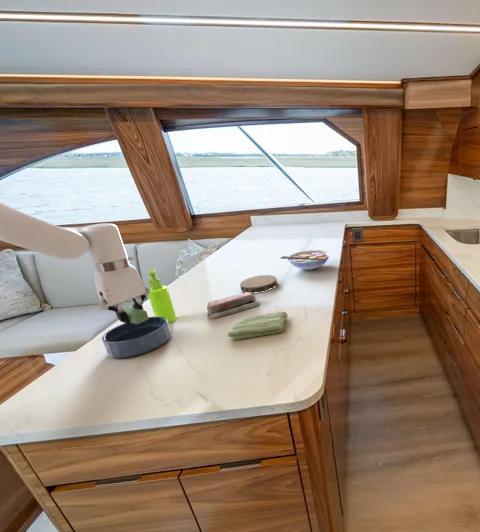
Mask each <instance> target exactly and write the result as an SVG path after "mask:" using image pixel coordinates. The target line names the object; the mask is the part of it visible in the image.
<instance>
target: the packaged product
mask: <svg viewBox="0 0 480 532" xmlns="http://www.w3.org/2000/svg"><path fill="white" fill-rule="evenodd" d="M254 294H255V293H250V292H247V293H244V292H242V293H239V294H235V295H230V296H227V297H224V298H219V299H215V300H212V301H209V302H207V306H206V310H207V312H208V315H210V317H211V319H213V320H214V319H217V318H221V317H223V316H227V315H230V314H235V313H239V312H242V311H244V310H247V309H251V308H254V307H258V306H261V301H260V300H259V299H258V298H257V297H256V296H255V295H254Z"/></svg>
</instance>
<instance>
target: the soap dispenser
mask: <svg viewBox="0 0 480 532" xmlns="http://www.w3.org/2000/svg"><path fill="white" fill-rule="evenodd" d="M147 273H148V275H149V278H150V279H149V280H148V281H147V282H148V285H149V288H148V289H149V290H150V291H151V292H150V293H149V294H148V295H147V297H148V299H149V302H150V305H151V308H152V311H153V314H154V317H164V318H166V319H167V320H168V323H171V322H174V321H176V319H177V315H176V312H175V309H174V305H173V303H172V298H171V295H170V292H169V290H168V286H166V285H163V284H162V281H161V278H159V277H157V275H156V270H155V269H154V268H153V269H149V270H147Z"/></svg>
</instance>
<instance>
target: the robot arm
mask: <svg viewBox="0 0 480 532" xmlns="http://www.w3.org/2000/svg"><path fill="white" fill-rule="evenodd" d="M0 242H4V243H7V244H10V245H14V246H16V247H20V248H22V249H26V250H29V251H33V252H36V253H38V254H43V255H46V256H50V257H53V258H57V259H61V260H75V259H79V258H81V257H83V256H85V255H86V254H87V253H88V252H89V253H90V254H89V255H90V256H91V259H92V261H93V264H94V266H95V269H96V272H94V274H93V278H94V284H95V289H96V293H97V296H98V298H99V303H98V306H97V309H98V310H100V311H101V310H102V311H110V312H111V311H112V312H114V313H115V312H116V313H117V316H118V318H119V319H118V318H117V319H118V321H119V322H121V323H123V324H124V323H129V322H130V321H129V318H128V316H127V313H126V311H124V310H123V308H124V307H123V303H124V302H126V301H129V300H131V301H132V302H133V304H132V308H135V309H140V310H144V306H143V305H144V301H145V300H146V298H147V297H148V294H149V293H150V292H151V291H150V290H149V289H150V288H148V287H147V286H145V285H144V282H143V280H142V277H141V276H140V273H139V271H138V270H137V269H136V267H135V266H134V265H133V264H132V262H134V261H135V259H134V257H133V256H128V253H127V250H126V248H125V245H124V242H123V239H122V235H121V233H120V231H119V228H118V226H117V224H114V223H110V222H109V223H107V222H106V223H105V222H104V223H96V224H89V225H86V226H71V227H70V226H69V227H67V226H66V227H62V226H59V225H56V224H53V223H51V222H48V221H46V220H42V219H40V218H37V217H34V216H32V215H29V214H26V213H24V212H22V211H20V210H17V209H16V208H13V207H11V206H9V205H8V204H6V203H3V202H1V201H0ZM107 304H108V305H107ZM144 311H145V310H144ZM116 313H115V314H116ZM117 316H116V317H117Z"/></svg>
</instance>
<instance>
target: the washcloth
mask: <svg viewBox="0 0 480 532" xmlns="http://www.w3.org/2000/svg"><path fill="white" fill-rule="evenodd" d="M287 319H288V313H287V312H286V311H284V310H281V311H276V312H269V313H264V314H258V315H250V316H249V315H248V316H244V317H241V318H240V319H239V320H237V322H236V323H235V324H234V325H233V326H232V329H231V330H230V331H229V332H228V333H227V337H229V338H232V340H233V341H238V340H243V339H249V338H256V337H261V336H267V335H268V336H269V335H275V334H279V333H281V332H283V331H284V329H285V325H286V323H285V322H286V321H287Z"/></svg>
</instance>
